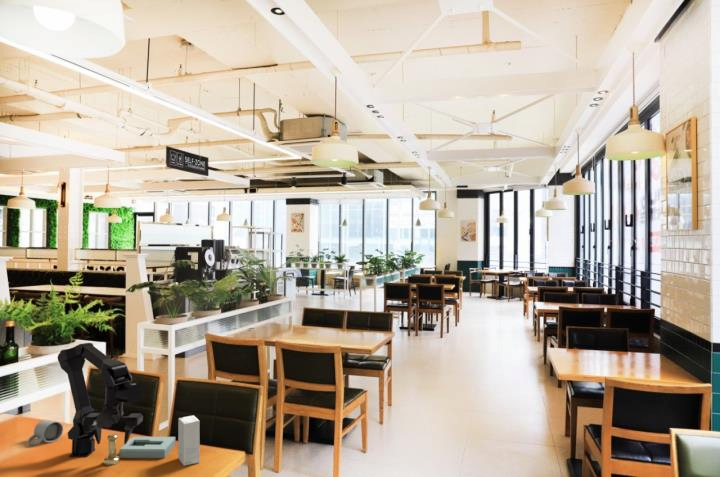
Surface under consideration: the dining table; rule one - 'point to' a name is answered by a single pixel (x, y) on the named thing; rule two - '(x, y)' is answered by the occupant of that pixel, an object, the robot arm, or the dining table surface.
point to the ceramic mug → (46, 432)
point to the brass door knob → (112, 451)
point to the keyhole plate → (147, 447)
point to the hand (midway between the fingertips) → (112, 443)
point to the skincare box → (188, 440)
